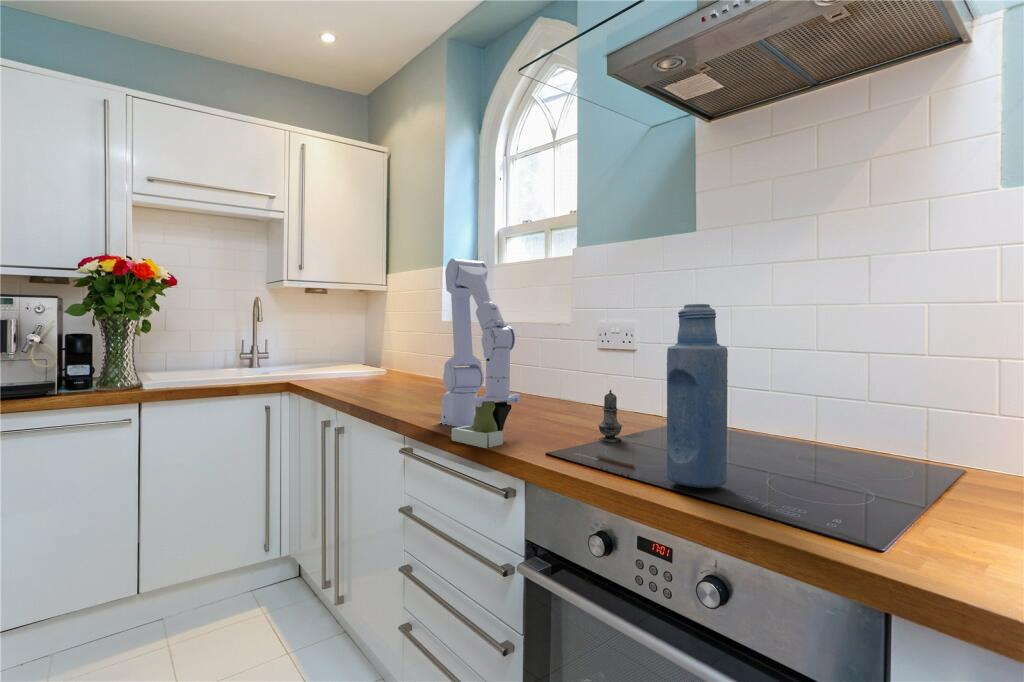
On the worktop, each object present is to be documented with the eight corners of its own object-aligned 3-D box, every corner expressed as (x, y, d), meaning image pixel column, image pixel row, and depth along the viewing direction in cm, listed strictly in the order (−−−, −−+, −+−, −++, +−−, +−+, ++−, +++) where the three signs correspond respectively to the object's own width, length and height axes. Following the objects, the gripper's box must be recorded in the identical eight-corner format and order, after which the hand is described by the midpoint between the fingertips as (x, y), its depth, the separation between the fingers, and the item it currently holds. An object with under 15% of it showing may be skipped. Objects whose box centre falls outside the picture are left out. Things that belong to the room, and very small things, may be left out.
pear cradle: (451, 441, 123) (451, 428, 123) (468, 438, 127) (468, 425, 127) (485, 448, 116) (485, 434, 116) (502, 444, 120) (502, 431, 120)
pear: (469, 441, 124) (467, 398, 124) (486, 436, 128) (484, 395, 127) (485, 444, 120) (483, 400, 120) (502, 439, 124) (500, 396, 123)
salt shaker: (622, 442, 123) (623, 391, 123) (596, 441, 125) (597, 390, 125) (622, 438, 129) (623, 388, 129) (598, 437, 130) (598, 388, 130)
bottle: (739, 483, 89) (741, 304, 89) (700, 492, 84) (702, 301, 84) (692, 471, 97) (694, 306, 97) (654, 478, 92) (656, 304, 92)
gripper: (488, 379, 119) (488, 441, 119) (530, 376, 129) (529, 432, 129) (466, 378, 123) (466, 437, 123) (508, 375, 134) (508, 429, 134)
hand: (497, 434), depth 127 cm, fingers closed
